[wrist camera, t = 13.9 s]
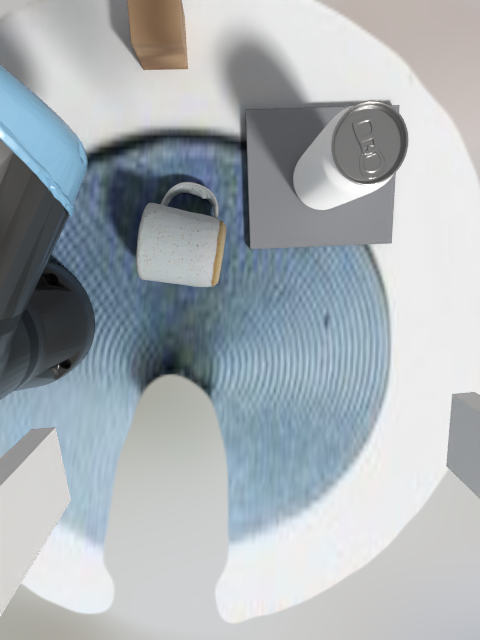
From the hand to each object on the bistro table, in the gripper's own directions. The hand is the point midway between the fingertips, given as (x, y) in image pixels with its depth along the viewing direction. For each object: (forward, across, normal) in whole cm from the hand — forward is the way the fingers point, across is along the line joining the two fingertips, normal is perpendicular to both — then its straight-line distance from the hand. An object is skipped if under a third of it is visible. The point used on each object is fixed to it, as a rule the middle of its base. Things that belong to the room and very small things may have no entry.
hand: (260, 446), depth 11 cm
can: (+28, -10, -13) cm, 32 cm away
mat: (+28, -10, -13) cm, 33 cm away
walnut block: (+29, +5, -27) cm, 40 cm away
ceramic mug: (+29, +5, -8) cm, 30 cm away
